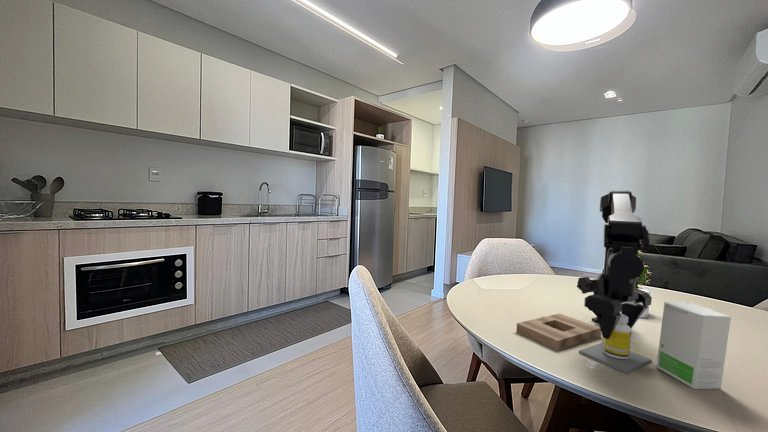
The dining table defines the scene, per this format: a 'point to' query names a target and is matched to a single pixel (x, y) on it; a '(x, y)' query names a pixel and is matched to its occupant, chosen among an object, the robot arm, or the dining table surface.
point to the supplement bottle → (618, 340)
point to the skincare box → (693, 344)
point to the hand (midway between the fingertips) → (616, 335)
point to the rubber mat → (619, 364)
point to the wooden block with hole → (558, 331)
